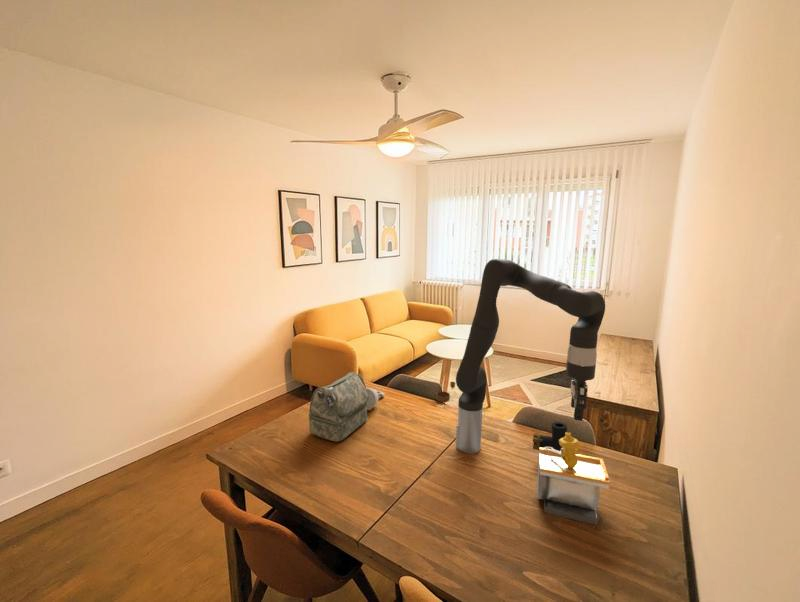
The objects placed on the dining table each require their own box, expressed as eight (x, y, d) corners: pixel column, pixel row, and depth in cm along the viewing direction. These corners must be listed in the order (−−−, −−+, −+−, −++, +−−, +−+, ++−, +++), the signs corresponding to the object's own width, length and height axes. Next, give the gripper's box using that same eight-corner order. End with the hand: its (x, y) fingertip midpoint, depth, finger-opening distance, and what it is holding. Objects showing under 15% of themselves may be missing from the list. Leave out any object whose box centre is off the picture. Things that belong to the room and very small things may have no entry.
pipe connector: (533, 464, 134) (532, 425, 133) (534, 456, 139) (533, 419, 137) (567, 469, 129) (566, 429, 128) (567, 461, 134) (567, 422, 133)
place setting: (422, 399, 189) (422, 388, 188) (452, 391, 200) (452, 381, 199) (444, 412, 175) (444, 400, 174) (474, 403, 185) (475, 392, 185)
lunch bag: (338, 447, 143) (337, 394, 140) (302, 435, 152) (301, 385, 148) (373, 419, 166) (373, 373, 163) (341, 410, 174) (340, 366, 171)
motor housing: (537, 511, 110) (540, 466, 108) (536, 486, 121) (539, 445, 119) (604, 526, 104) (609, 480, 102) (597, 499, 115) (602, 457, 113)
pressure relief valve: (572, 472, 106) (569, 437, 106) (539, 458, 117) (536, 427, 117) (584, 467, 109) (581, 433, 109) (551, 454, 119) (548, 423, 120)
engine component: (354, 409, 173) (355, 387, 174) (365, 401, 193) (366, 382, 194) (376, 411, 171) (377, 389, 172) (385, 403, 191) (386, 383, 192)
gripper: (565, 352, 113) (560, 402, 116) (569, 366, 100) (564, 422, 102) (592, 355, 111) (587, 405, 113) (600, 370, 97) (594, 427, 100)
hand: (576, 413), depth 108 cm, fingers open, 8 cm apart
